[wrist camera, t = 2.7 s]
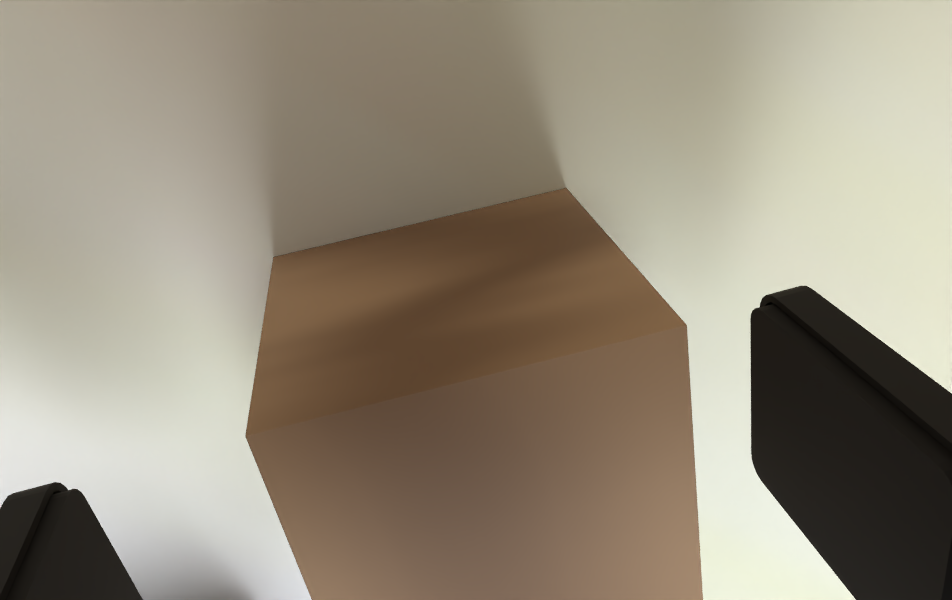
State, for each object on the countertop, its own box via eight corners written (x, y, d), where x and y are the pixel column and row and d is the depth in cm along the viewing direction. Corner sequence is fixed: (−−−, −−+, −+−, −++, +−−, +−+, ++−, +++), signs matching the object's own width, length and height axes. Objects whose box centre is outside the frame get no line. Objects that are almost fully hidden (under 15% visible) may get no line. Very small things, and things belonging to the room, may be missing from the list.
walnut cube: (565, 186, 13) (686, 324, 9) (596, 420, 15) (704, 623, 11) (273, 255, 13) (244, 435, 8) (350, 484, 15) (360, 720, 11)
